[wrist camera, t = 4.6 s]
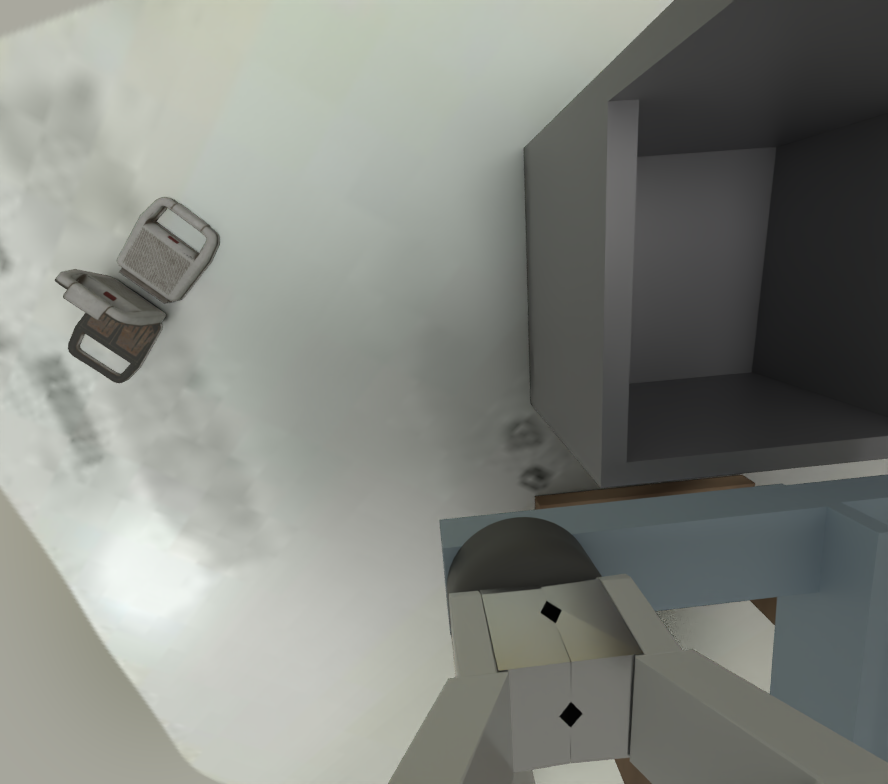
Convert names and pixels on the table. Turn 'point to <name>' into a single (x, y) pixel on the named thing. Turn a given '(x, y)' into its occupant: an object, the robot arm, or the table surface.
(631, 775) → the stand
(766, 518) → the lever
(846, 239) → the bin
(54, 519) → the table surface
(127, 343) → the grey hinged case
